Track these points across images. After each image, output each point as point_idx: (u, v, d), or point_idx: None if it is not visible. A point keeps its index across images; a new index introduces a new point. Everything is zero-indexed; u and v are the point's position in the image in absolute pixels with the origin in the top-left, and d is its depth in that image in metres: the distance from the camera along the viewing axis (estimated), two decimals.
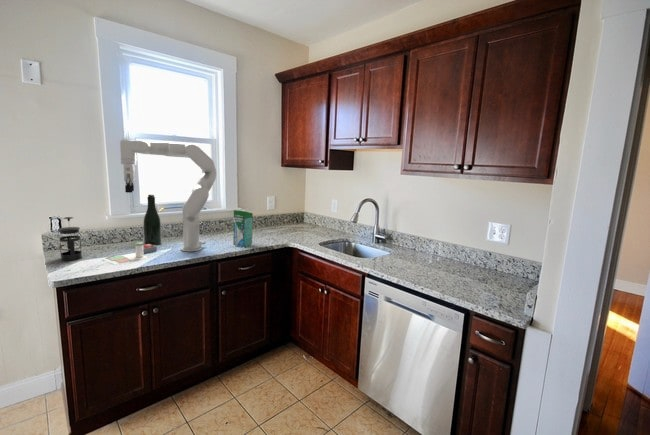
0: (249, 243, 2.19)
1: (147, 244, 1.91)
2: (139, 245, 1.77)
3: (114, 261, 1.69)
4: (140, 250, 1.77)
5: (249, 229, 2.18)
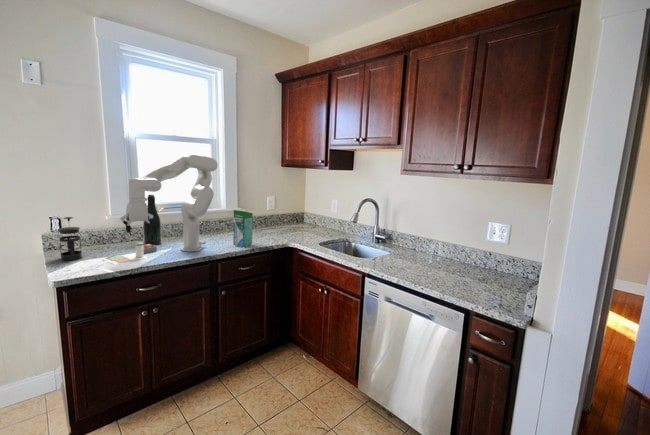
0: (249, 243, 2.19)
1: (147, 244, 1.91)
2: (139, 245, 1.77)
3: (114, 261, 1.69)
4: (140, 250, 1.77)
5: (249, 229, 2.18)
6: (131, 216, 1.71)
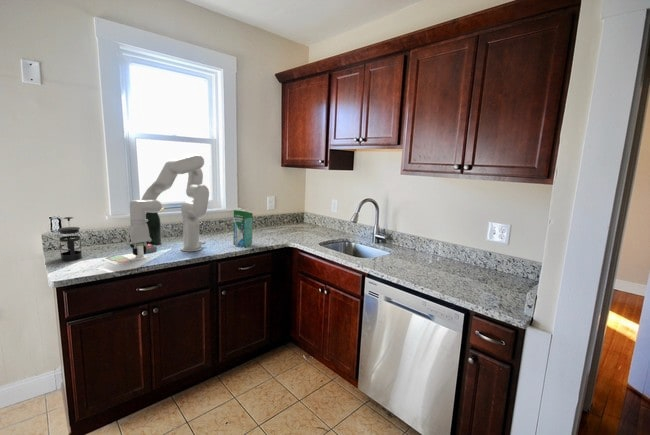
0: (249, 243, 2.19)
1: None
2: (139, 245, 1.77)
3: (114, 261, 1.69)
4: (140, 250, 1.77)
5: (249, 229, 2.18)
6: (133, 238, 1.73)
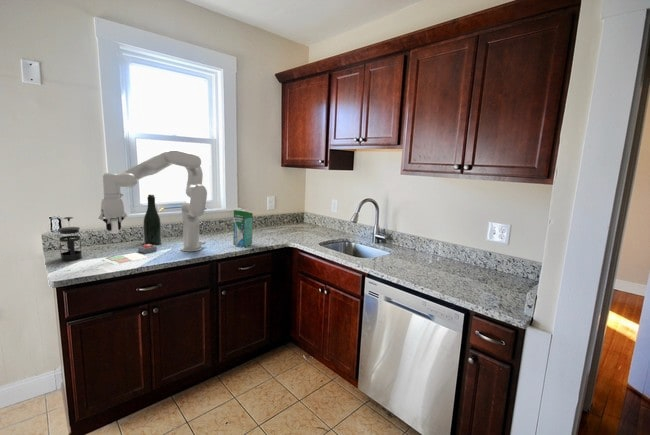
0: (249, 243, 2.19)
1: (147, 244, 1.91)
2: (113, 220, 1.71)
3: (114, 261, 1.69)
4: (114, 226, 1.71)
5: (249, 229, 2.18)
6: (106, 212, 1.67)
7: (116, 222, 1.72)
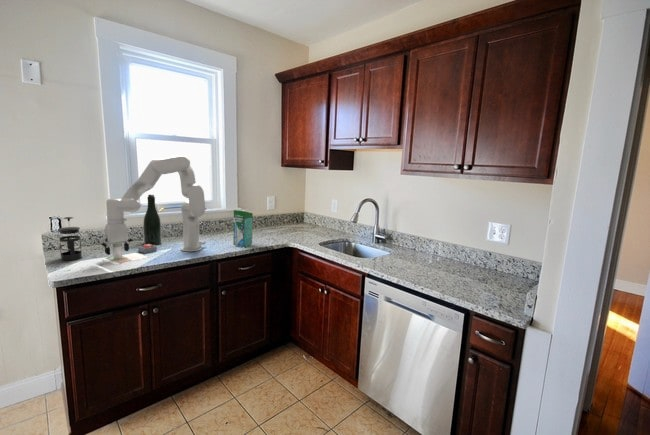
0: (249, 243, 2.19)
1: (147, 244, 1.91)
2: (117, 246, 1.72)
3: (114, 261, 1.69)
4: (118, 251, 1.73)
5: (249, 229, 2.18)
6: (109, 238, 1.68)
7: (120, 248, 1.73)
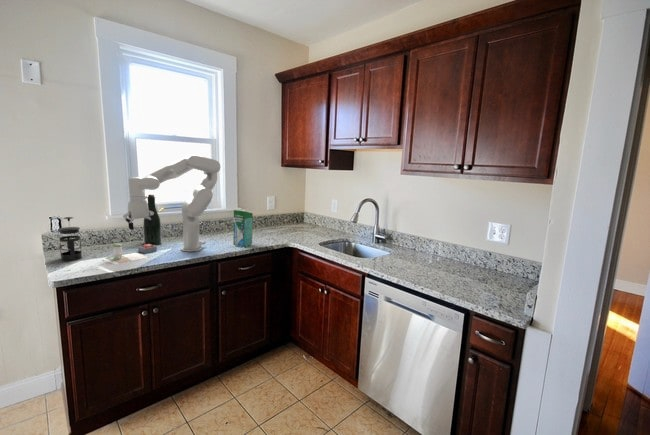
0: (249, 243, 2.19)
1: (147, 244, 1.91)
2: (117, 246, 1.72)
3: (114, 261, 1.69)
4: (118, 252, 1.72)
5: (249, 229, 2.18)
6: (133, 214, 1.78)
7: (120, 248, 1.73)
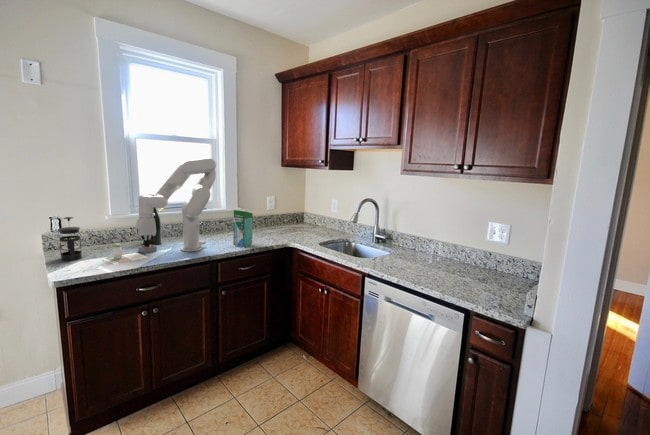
0: (249, 243, 2.19)
1: None
2: (116, 246, 1.71)
3: (114, 261, 1.69)
4: (117, 252, 1.72)
5: (249, 229, 2.18)
6: (141, 231, 1.84)
7: (119, 248, 1.73)
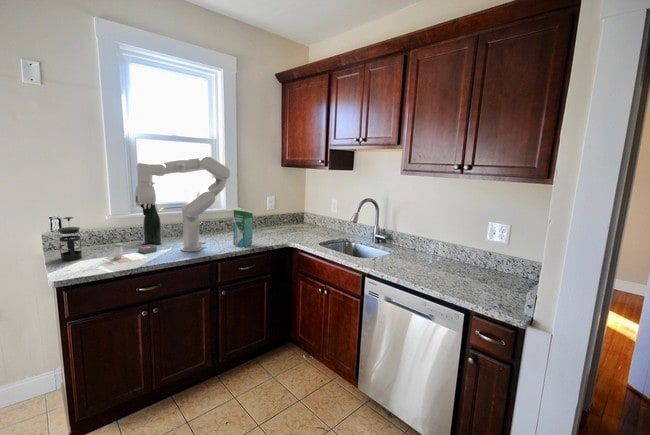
0: (249, 243, 2.19)
1: (147, 246, 1.92)
2: (117, 246, 1.72)
3: (114, 261, 1.69)
4: (117, 251, 1.72)
5: (249, 229, 2.18)
6: (140, 198, 1.81)
7: (120, 248, 1.73)
